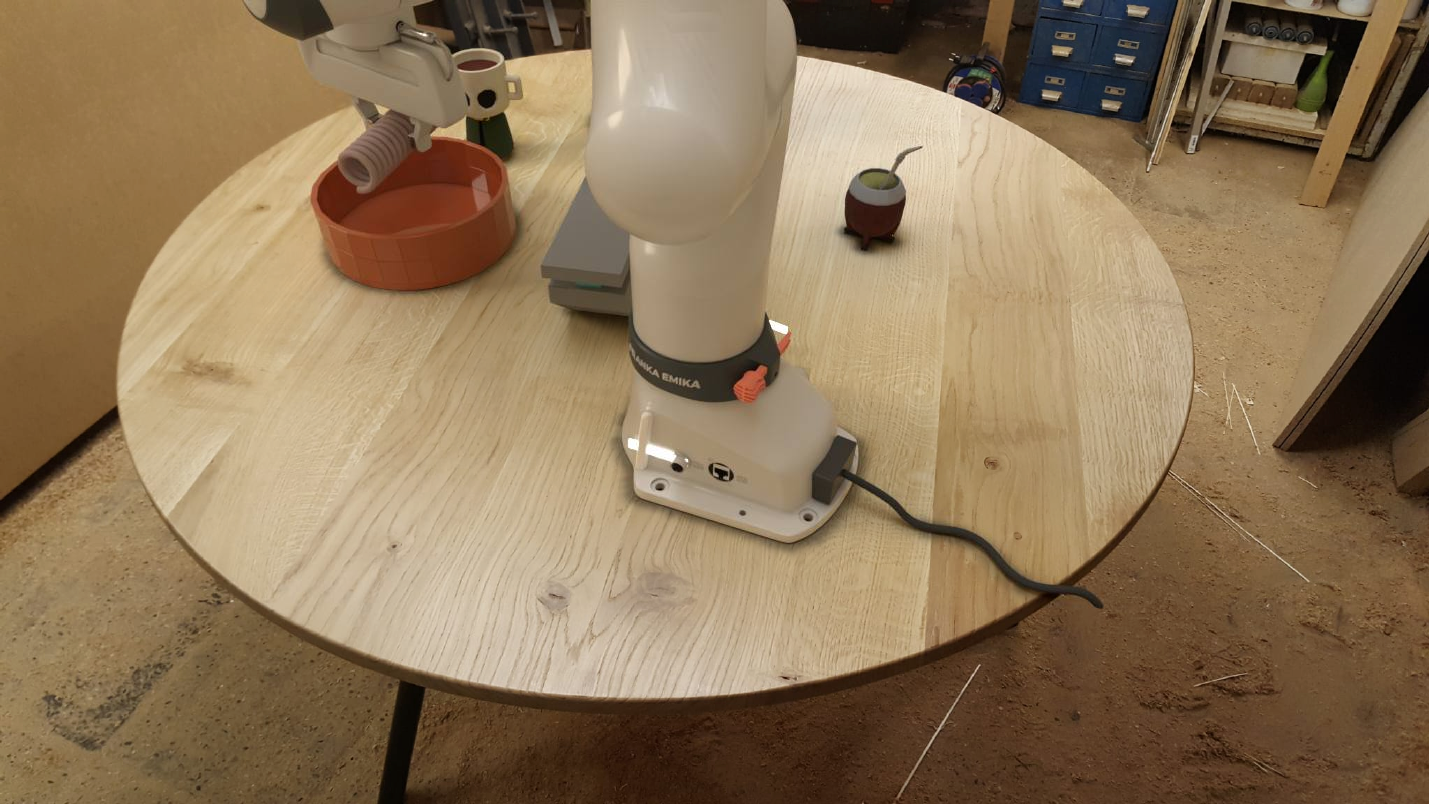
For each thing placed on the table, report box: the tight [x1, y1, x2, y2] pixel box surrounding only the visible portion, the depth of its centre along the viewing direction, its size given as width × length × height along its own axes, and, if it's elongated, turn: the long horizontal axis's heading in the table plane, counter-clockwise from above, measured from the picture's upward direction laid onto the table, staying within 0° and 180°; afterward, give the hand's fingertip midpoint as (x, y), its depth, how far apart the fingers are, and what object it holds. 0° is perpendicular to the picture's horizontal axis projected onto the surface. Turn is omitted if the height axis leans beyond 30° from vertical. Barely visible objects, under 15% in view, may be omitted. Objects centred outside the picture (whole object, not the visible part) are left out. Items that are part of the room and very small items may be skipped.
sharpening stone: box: [540, 175, 632, 318], centre depth 95 cm, size 25×8×11 cm, turn 171°
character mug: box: [452, 47, 524, 160], centre depth 114 cm, size 11×7×13 cm, turn 86°
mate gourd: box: [843, 145, 924, 252], centre depth 101 cm, size 8×8×15 cm
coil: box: [337, 109, 439, 194], centre depth 95 cm, size 5×5×18 cm
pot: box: [309, 135, 517, 291], centre depth 102 cm, size 22×22×7 cm
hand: (399, 139), depth 96 cm, fingers closed on coil, 5 cm apart
